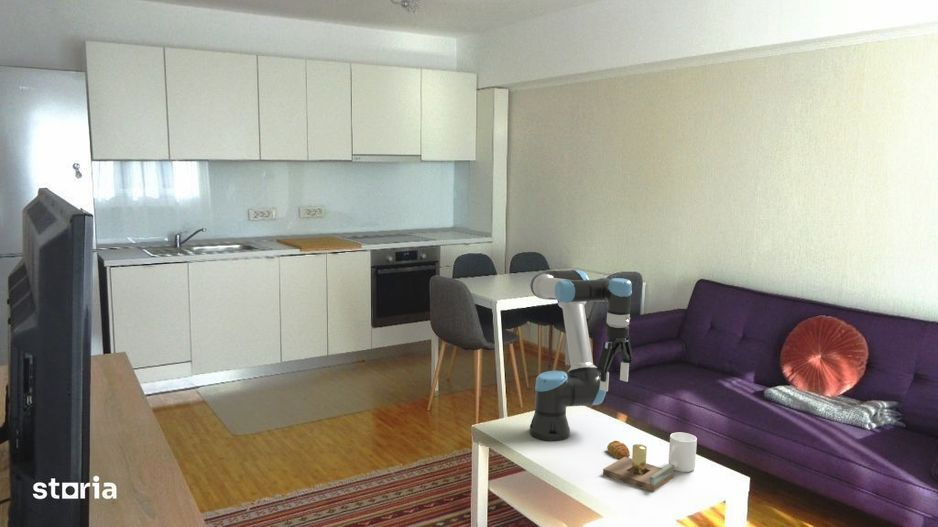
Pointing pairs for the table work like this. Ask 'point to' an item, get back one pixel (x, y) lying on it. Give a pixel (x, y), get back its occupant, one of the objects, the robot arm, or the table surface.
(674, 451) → the mug
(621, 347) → the robot arm
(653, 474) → the jig
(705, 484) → the table surface
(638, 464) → the brass cylinder rod
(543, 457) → the table surface
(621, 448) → the pastry
